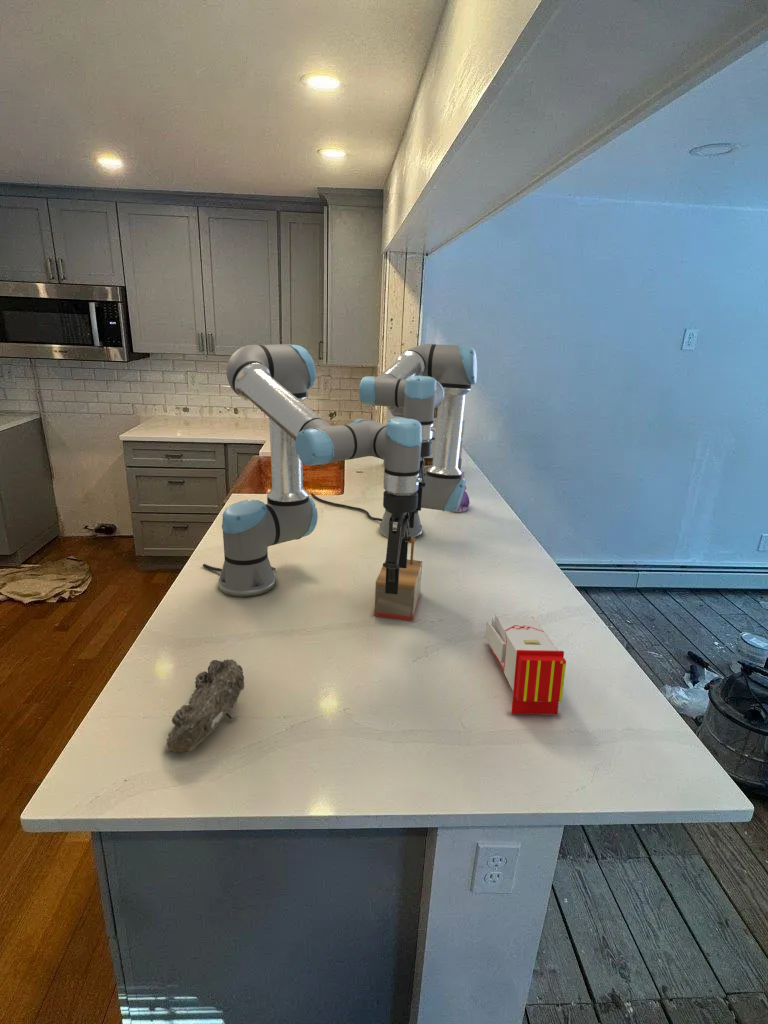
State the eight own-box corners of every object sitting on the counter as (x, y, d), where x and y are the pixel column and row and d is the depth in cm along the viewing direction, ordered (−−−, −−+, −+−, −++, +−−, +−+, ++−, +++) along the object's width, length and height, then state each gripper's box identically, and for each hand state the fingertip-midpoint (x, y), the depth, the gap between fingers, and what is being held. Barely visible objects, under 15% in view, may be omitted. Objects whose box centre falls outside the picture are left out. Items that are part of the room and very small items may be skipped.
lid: (386, 559, 158) (388, 531, 155) (422, 564, 156) (424, 535, 153) (375, 584, 143) (376, 553, 140) (414, 589, 142) (416, 558, 139)
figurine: (456, 514, 221) (459, 477, 216) (441, 506, 229) (444, 470, 224) (475, 511, 225) (479, 475, 220) (461, 503, 234) (464, 468, 229)
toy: (530, 600, 137) (574, 657, 108) (525, 651, 140) (567, 720, 111) (480, 599, 137) (511, 656, 107) (477, 651, 139) (506, 719, 110)
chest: (385, 589, 160) (386, 560, 157) (420, 593, 158) (422, 564, 155) (374, 615, 146) (375, 584, 143) (412, 620, 145) (414, 589, 142)
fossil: (192, 660, 117) (244, 628, 112) (224, 691, 120) (276, 661, 115) (142, 746, 98) (202, 712, 93) (182, 779, 101) (242, 748, 96)
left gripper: (410, 511, 110) (404, 607, 118) (424, 477, 134) (419, 559, 141) (372, 507, 112) (369, 603, 119) (393, 474, 135) (389, 556, 142)
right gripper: (425, 451, 131) (419, 536, 138) (437, 431, 154) (431, 504, 161) (393, 448, 132) (389, 533, 139) (410, 428, 155) (405, 502, 162)
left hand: (396, 579), depth 130 cm, fingers open, 13 cm apart
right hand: (412, 518), depth 150 cm, fingers open, 13 cm apart
